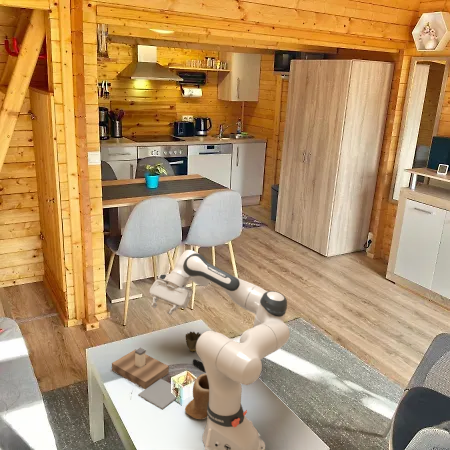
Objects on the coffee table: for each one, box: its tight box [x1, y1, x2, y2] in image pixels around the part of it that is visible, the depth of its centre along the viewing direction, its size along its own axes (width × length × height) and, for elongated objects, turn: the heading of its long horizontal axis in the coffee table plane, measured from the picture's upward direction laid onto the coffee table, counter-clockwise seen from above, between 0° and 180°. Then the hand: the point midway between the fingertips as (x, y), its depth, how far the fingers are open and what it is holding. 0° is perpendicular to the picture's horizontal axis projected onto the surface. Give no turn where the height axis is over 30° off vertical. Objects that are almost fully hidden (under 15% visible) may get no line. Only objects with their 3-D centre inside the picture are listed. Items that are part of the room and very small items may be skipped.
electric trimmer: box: [192, 358, 206, 372], centre depth 200 cm, size 4×16×3 cm, turn 55°
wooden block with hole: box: [111, 349, 170, 390], centre depth 196 cm, size 20×14×4 cm
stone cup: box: [184, 373, 209, 420], centre depth 174 cm, size 15×12×15 cm
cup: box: [185, 331, 202, 353], centre depth 213 cm, size 8×7×8 cm
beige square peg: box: [134, 347, 147, 368], centre depth 195 cm, size 3×3×10 cm
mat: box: [137, 378, 178, 410], centre depth 184 cm, size 13×13×1 cm
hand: (161, 310), depth 199 cm, fingers open, 8 cm apart
